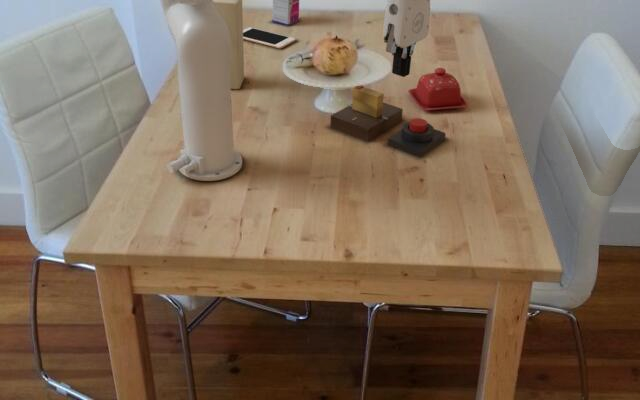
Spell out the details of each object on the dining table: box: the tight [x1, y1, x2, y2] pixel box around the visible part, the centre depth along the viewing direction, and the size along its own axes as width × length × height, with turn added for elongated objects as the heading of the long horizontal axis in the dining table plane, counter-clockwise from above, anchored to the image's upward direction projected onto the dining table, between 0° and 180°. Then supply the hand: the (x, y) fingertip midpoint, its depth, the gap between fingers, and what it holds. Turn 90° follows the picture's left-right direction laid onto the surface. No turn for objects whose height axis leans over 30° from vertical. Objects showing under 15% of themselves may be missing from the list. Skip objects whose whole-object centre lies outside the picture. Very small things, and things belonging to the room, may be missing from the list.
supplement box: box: [272, 0, 300, 27], centre depth 216 cm, size 6×6×12 cm
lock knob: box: [352, 84, 385, 118], centre depth 161 cm, size 6×2×5 cm, turn 51°
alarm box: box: [387, 121, 447, 158], centre depth 156 cm, size 10×8×4 cm
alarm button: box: [409, 117, 428, 133], centre depth 155 cm, size 4×4×2 cm
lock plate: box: [330, 101, 404, 143], centre depth 163 cm, size 13×11×3 cm
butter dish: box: [407, 67, 468, 111], centre depth 172 cm, size 12×12×8 cm
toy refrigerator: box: [213, 0, 245, 90], centre depth 175 cm, size 8×7×21 cm
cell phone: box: [243, 26, 297, 49], centre depth 206 cm, size 8×16×1 cm, turn 58°
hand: (400, 73), depth 150 cm, fingers closed
